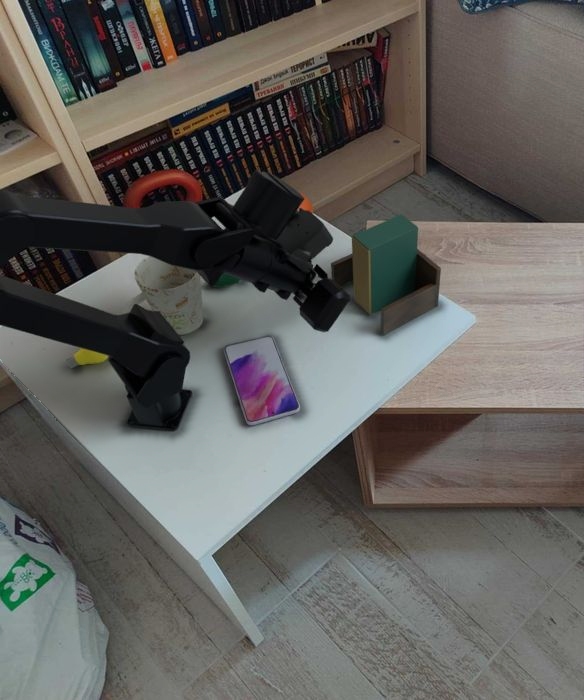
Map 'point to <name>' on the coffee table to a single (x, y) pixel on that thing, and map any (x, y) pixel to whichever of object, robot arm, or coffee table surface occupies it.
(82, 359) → the light bulb
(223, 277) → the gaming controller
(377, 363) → the coffee table surface
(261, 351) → the smartphone
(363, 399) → the coffee table surface
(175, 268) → the mug
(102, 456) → the coffee table surface
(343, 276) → the book rack
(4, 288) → the robot arm
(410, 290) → the book
